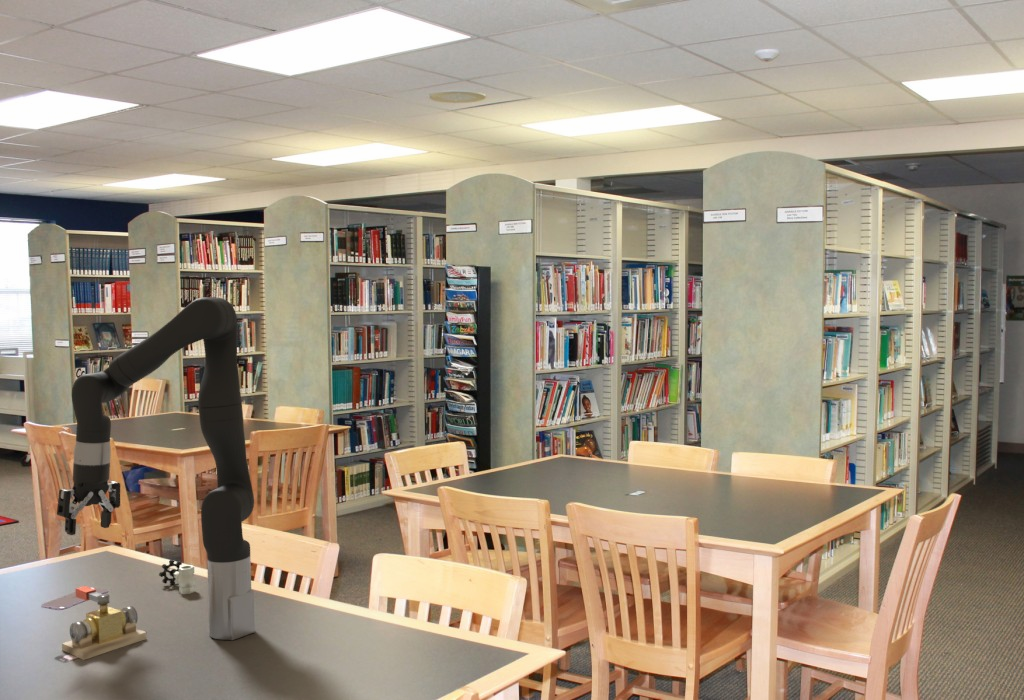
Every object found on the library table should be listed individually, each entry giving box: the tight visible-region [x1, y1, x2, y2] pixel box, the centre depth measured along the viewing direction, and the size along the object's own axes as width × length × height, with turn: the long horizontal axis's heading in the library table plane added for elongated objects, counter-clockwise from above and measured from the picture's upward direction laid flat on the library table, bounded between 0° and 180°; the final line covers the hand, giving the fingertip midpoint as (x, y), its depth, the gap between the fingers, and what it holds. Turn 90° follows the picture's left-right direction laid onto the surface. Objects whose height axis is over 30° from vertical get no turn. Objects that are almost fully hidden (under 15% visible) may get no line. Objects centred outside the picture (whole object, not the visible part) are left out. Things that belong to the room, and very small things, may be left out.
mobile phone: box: [40, 587, 109, 611], centre depth 221 cm, size 8×1×15 cm
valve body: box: [69, 603, 139, 644], centre depth 190 cm, size 5×13×8 cm, turn 144°
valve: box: [158, 559, 196, 595], centre depth 228 cm, size 7×7×12 cm
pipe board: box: [61, 622, 147, 660], centre depth 190 cm, size 9×14×4 cm, turn 144°
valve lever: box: [75, 585, 111, 606], centre depth 193 cm, size 11×2×2 cm, turn 54°
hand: (88, 530), depth 199 cm, fingers open, 8 cm apart
